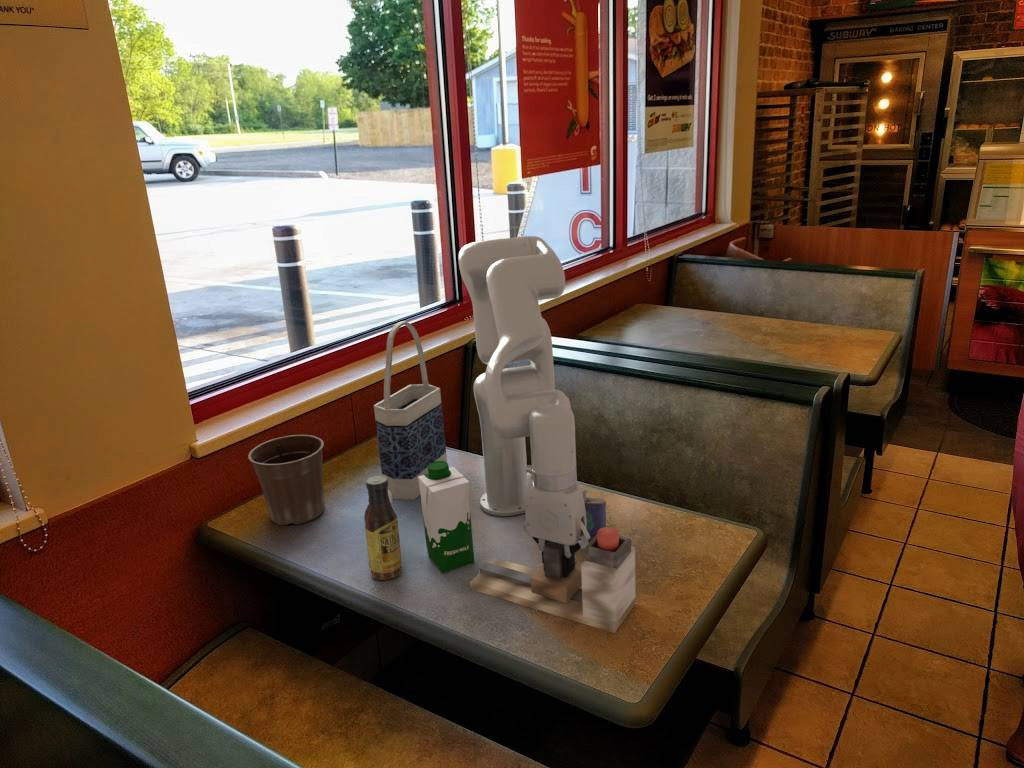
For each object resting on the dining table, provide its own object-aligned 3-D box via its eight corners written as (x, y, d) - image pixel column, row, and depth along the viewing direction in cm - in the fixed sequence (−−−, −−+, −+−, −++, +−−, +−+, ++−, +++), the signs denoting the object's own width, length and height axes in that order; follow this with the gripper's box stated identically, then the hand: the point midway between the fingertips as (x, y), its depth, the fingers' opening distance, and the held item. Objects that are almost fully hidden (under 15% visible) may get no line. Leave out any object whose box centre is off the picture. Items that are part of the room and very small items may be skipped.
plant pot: (245, 520, 173) (232, 455, 168) (300, 490, 185) (289, 429, 180) (294, 537, 164) (282, 469, 159) (348, 505, 177) (338, 441, 171)
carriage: (531, 592, 135) (528, 548, 132) (552, 569, 141) (550, 526, 138) (566, 603, 131) (564, 557, 128) (587, 579, 138) (585, 535, 135)
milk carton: (462, 543, 157) (454, 455, 151) (481, 564, 150) (473, 472, 143) (422, 556, 154) (412, 466, 147) (439, 578, 146) (429, 484, 139)
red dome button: (593, 550, 128) (593, 535, 127) (602, 539, 130) (602, 525, 129) (613, 555, 126) (613, 540, 125) (622, 544, 129) (622, 529, 128)
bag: (422, 464, 195) (405, 312, 182) (451, 469, 191) (436, 314, 178) (380, 496, 180) (358, 332, 167) (411, 502, 176) (391, 335, 163)
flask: (608, 537, 156) (606, 490, 153) (604, 544, 154) (602, 497, 150) (565, 531, 160) (562, 485, 156) (560, 538, 157) (558, 491, 154)
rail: (470, 589, 142) (464, 522, 137) (496, 564, 149) (491, 500, 145) (614, 633, 127) (613, 560, 123) (635, 604, 135) (634, 534, 130)
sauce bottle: (388, 585, 145) (375, 491, 138) (363, 576, 148) (350, 484, 142) (410, 567, 150) (399, 476, 144) (386, 560, 153) (374, 470, 147)
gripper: (501, 476, 130) (508, 569, 136) (588, 495, 122) (591, 593, 128) (523, 459, 136) (529, 549, 142) (608, 476, 128) (610, 570, 134)
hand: (558, 569), depth 135 cm, fingers closed on carriage, 3 cm apart
